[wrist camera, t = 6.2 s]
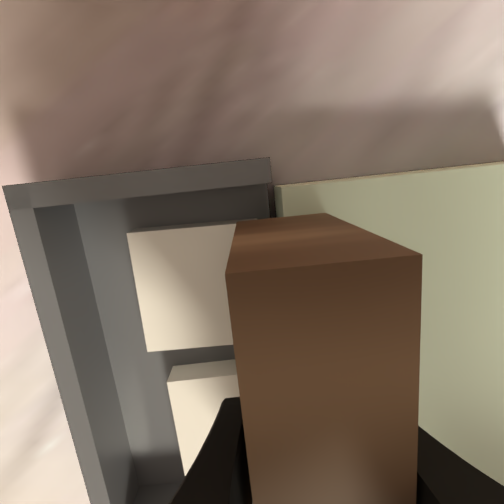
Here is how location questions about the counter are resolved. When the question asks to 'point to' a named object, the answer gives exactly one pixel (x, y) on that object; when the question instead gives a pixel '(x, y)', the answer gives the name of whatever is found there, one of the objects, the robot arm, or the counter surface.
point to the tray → (119, 310)
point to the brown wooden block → (326, 360)
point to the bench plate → (440, 288)
